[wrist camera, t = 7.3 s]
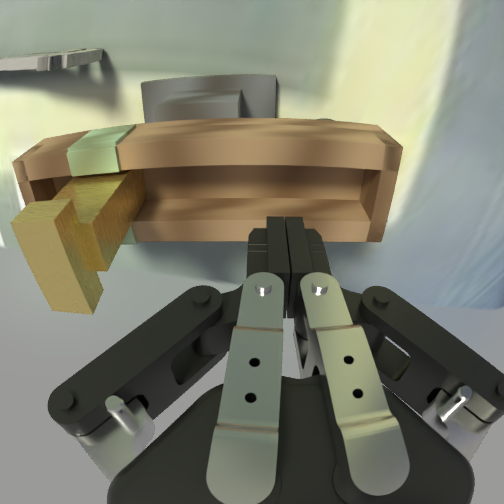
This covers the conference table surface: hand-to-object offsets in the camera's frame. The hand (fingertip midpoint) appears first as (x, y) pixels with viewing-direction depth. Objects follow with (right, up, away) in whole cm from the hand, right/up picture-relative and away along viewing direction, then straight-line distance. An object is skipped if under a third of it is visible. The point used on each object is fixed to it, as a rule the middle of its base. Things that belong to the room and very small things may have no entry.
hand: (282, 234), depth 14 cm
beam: (-5, +8, +11) cm, 14 cm away
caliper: (-23, +17, +5) cm, 29 cm away
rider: (-10, +4, +5) cm, 11 cm away
